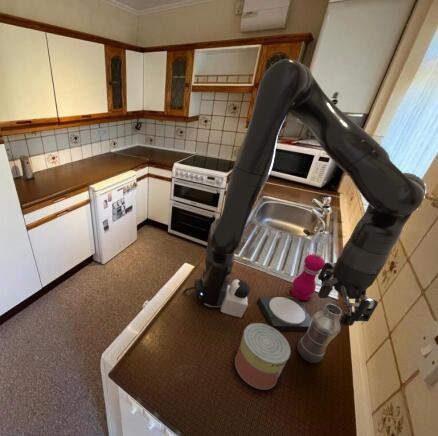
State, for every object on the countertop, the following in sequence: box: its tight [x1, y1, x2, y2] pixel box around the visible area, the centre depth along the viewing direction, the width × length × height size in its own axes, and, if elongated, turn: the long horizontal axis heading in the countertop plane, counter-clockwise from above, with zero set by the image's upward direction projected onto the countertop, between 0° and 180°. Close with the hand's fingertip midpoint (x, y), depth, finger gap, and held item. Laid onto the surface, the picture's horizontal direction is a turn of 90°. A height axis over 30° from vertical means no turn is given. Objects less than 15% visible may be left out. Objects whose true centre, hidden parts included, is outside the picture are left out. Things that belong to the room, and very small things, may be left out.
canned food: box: [234, 322, 292, 391], centre depth 65 cm, size 11×11×12 cm
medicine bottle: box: [220, 278, 251, 319], centre depth 83 cm, size 7×7×12 cm
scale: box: [257, 296, 312, 332], centre depth 83 cm, size 14×12×3 cm
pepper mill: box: [290, 252, 326, 301], centre depth 87 cm, size 7×7×20 cm
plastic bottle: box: [296, 303, 343, 364], centre depth 66 cm, size 6×7×20 cm
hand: (332, 310), depth 62 cm, fingers open, 8 cm apart
